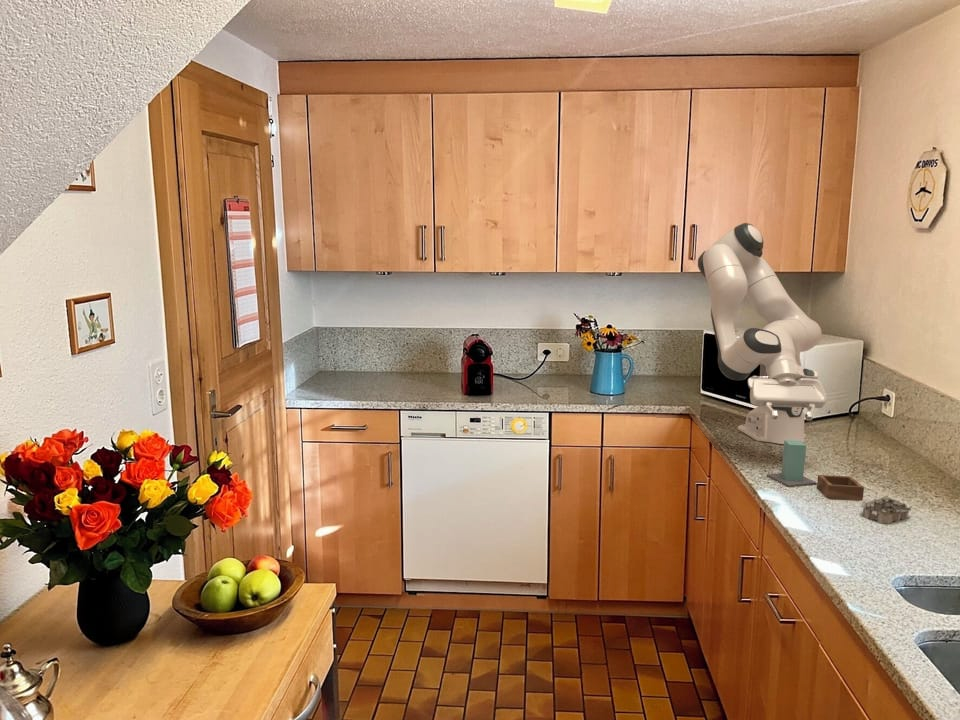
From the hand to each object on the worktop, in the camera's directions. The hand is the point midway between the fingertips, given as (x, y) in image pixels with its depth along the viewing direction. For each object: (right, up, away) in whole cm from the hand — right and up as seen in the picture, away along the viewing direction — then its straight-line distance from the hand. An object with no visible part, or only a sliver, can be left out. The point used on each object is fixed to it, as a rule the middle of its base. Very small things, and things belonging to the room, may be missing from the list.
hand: (791, 418), depth 211 cm
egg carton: (+11, -22, -28) cm, 37 cm away
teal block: (-2, -16, -4) cm, 16 cm away
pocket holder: (+7, -18, -13) cm, 24 cm away
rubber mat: (-2, -16, -4) cm, 17 cm away
